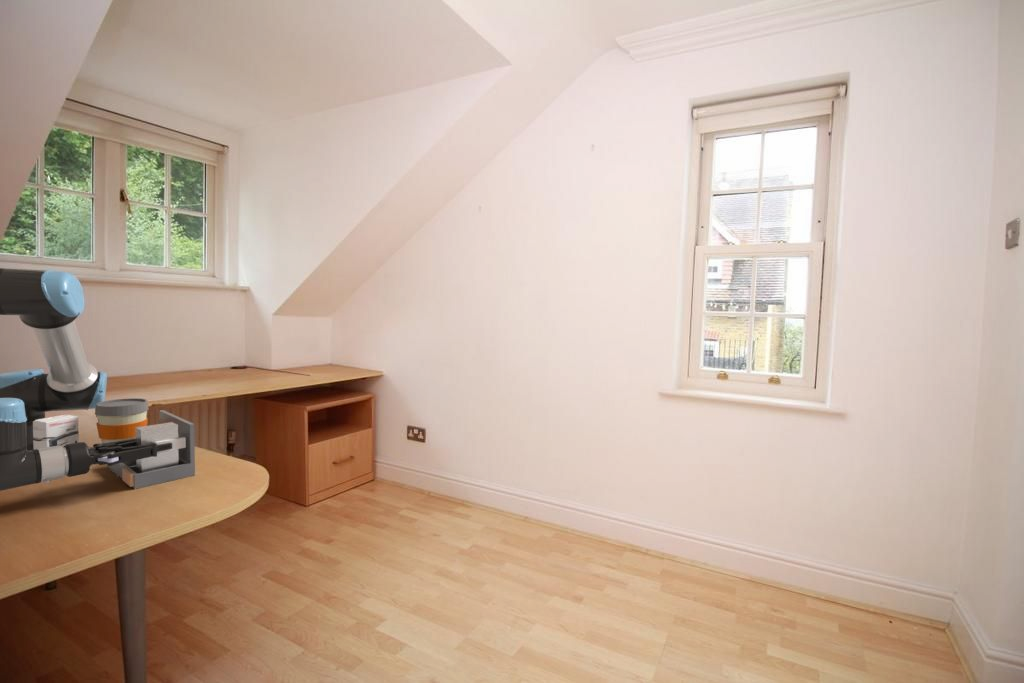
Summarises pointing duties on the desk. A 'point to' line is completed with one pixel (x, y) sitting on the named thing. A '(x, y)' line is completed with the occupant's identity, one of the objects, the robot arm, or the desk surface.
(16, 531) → the desk surface
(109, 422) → the reusable coffee cup
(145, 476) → the rack
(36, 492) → the desk surface
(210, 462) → the desk surface
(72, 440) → the ink box
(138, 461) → the brushed metal block
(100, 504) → the desk surface
